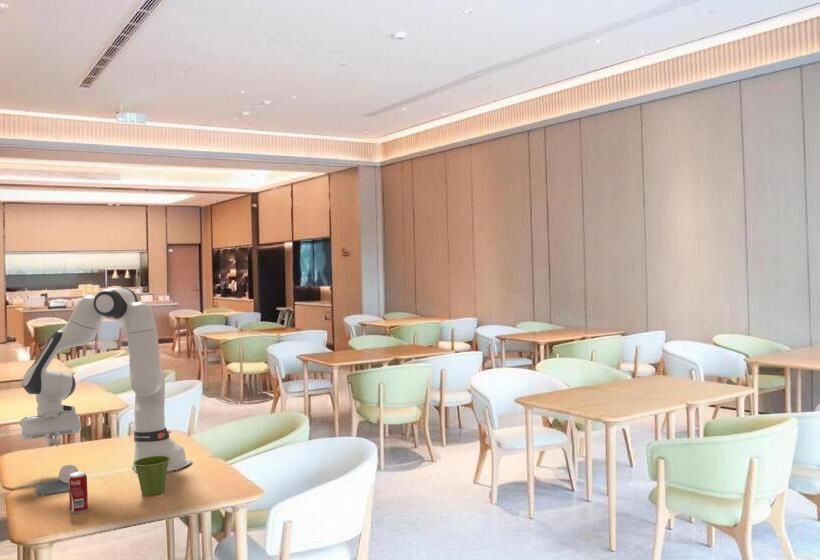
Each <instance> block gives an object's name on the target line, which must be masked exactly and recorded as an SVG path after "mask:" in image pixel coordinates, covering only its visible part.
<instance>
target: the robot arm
mask: <svg viewBox="0 0 820 560" xmlns="http://www.w3.org/2000/svg"><path fill="white" fill-rule="evenodd" d="M105 317H106V318H112V319H116V320H117V319H118V320H119V319H122V320H123V321H124V325H125V333H126V340H127V347H128V354H129V357H128V358H129V360H128V361H129V377H130V378H129V379H130V387H131V389H132V391H133V393H134V394H135V395H134V396H135V397H134V410H133V411H134V412H133V413H134V431H133V440H134V443H135V444H134V456H133V461H132V465H131V469H132V470H134V472H136V473H137V471H136V468H135V465H134V464H133V462H134V461H136V460H138V459H141V458H145V457H150V456H167V457H170V460H169V461H168V467H167V472H173V471H172V470H176V469H179V468H182V467H184V466H186V465H188V464H190V463H191V462H192V463H193V460H192V459H189V458H187V457H186V451H185V449H184V447H183V446H181V444H180V443H177V442H176V441H174V439H173V438H171V437H170V434H172V429H170V430H168V429H167V427H166V418H165V415H166V414H165V401H166V400H165V399H166V397H165V395H166V394H165V393H166V382H165V381H166V376H165V374H166V373H165V372H164V369H162V367H161V364H160V363H161V362H160V361H161V360H160V346H159V337H158V332H157V331H158V330H157V323H156V320H155V316H154V312H153V309H152V307H151V306H150V305H149V304H148V303H146V302H141V301H138V296H137V294H136V293H135V292H134V290H131V289H130V288H127V287H110V288H105V289H103V290H101V291H99V292H97V294H96V295H85V296H83V297H82V298H80V299H79V301H78V302H77V304H76V305H75V307H74V309H73V311H72V313H71V315H70V318H69V319H68V322H66V324H65V325H64V326H63V327H62V328H61V329H58V330H56V331H54V332H53V333H52V335H50V337H49V338H48V340H47V342H46V343H45V345H44V346H43V348H42V350H41V351H40V353H39V354H38V356H37V357H36V359H35V360H34V362H33V364H32V365H31V366H30V367H29V369H28V370H27V371H26V372H25V374H24V376H23V377H22V382H21V385H22V387H23V389H24V390H25V392H26V393H27V394H29V395H35V401H36V403H37V406H36V409H37V410H36V411H37V412H36V413H37V415H32V416H31V415H30V416H25V417H23V418H21V419H20V421H19V424H20V426H21V438H22V439H23V440H26V441H27V440H32V439H42V438H44V440H45V441H46V442H47V443H48V446H49V447H51V446H57V445H58V443H59V442H58V440H59V439H60V437H61V436H64V435H72V434H79V433H80V432H81V430H82V422H81V419H80V416H79V414H78V413H77V412H76V407H75V406H73V405H67V404H62V402H63V401H65V400H66V399H68V398H69V397H70V396H71V395H73V393H74V392H75V390H76V378H75V377H74V375H73V374H72V373H70V372H68V371H67V372H65V371H59V370H53V369H52V370H51V369H48V367H49V365H50V364H51V362H52V361H53V359H54V357H56V355H57V354H58V353H59V352H60V351H61V350H65V349H68V348H74V347H81V346H84V345H87V344H89V343H91V342H92V341H93V340H94V339H95V337H96V335H97V333H98V332H99V329H100V326H101V325H102V324H101V323H102V321H103V319H104V318H105ZM50 437H55V438H50ZM192 463H191V464H192ZM191 464H190V465H191ZM182 469H183V468H182ZM179 470H180V469H179ZM176 471H177V470H176Z"/></svg>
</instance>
